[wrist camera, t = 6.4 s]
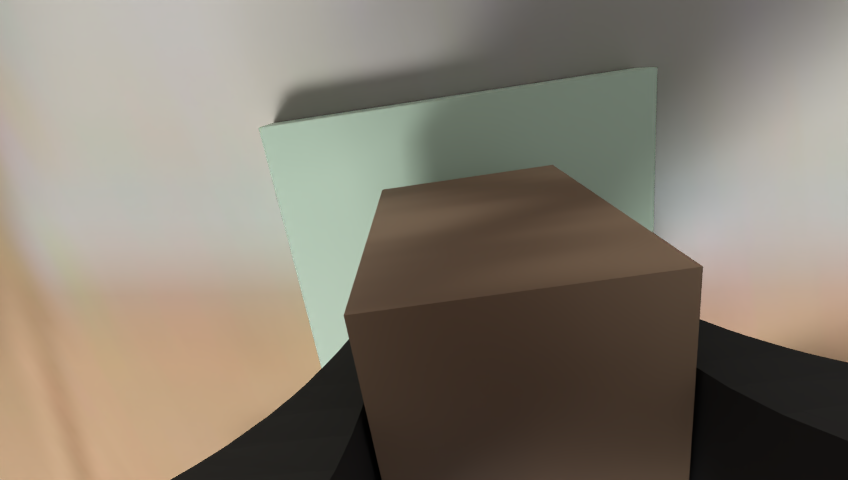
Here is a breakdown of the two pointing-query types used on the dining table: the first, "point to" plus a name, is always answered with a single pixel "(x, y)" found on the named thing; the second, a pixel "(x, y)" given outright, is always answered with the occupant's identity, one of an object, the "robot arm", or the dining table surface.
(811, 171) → the dining table surface
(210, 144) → the dining table surface
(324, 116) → the sage green board
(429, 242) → the walnut brick
